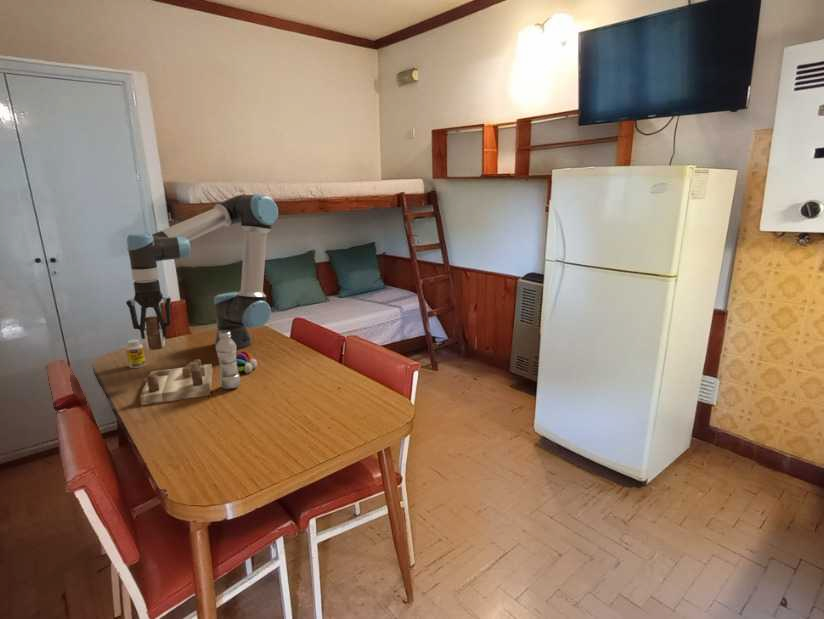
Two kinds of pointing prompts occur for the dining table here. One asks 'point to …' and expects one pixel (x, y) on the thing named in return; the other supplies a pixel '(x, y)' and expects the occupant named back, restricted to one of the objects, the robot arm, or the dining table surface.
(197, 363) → the folding leg
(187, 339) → the dining table surface
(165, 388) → the board
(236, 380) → the plastic bottle
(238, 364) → the multicoloured ball
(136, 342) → the supplement bottle
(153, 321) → the loose leg
